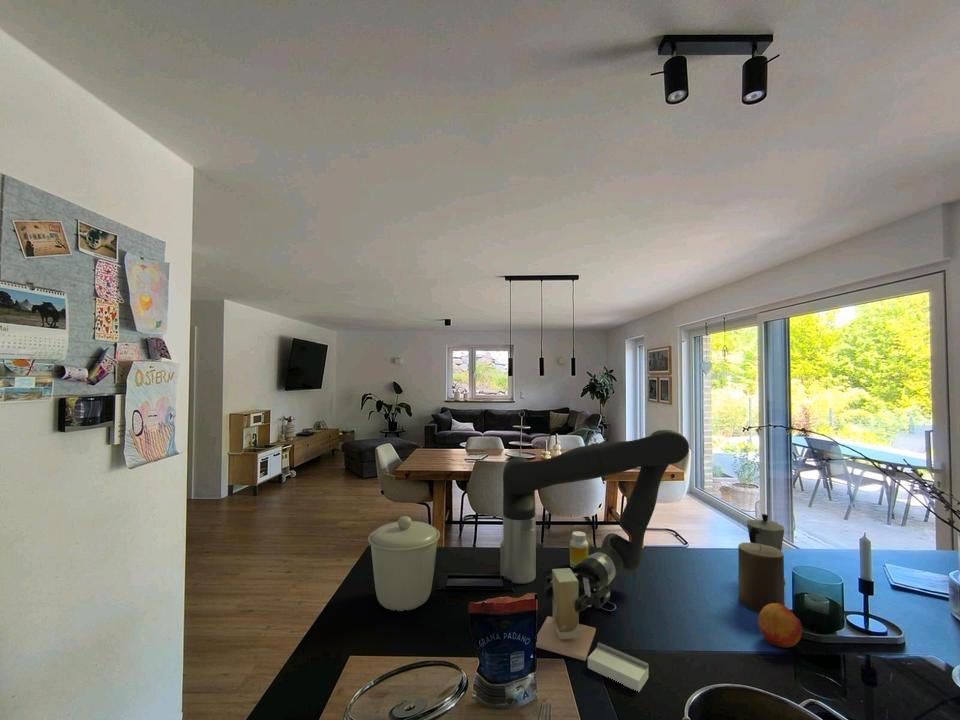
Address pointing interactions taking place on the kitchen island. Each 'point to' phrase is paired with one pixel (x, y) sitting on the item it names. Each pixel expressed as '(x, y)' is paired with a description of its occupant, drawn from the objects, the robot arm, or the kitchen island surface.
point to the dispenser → (618, 666)
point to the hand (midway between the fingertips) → (560, 601)
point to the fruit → (779, 625)
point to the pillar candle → (760, 575)
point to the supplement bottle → (578, 548)
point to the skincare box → (565, 603)
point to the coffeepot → (766, 532)
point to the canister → (403, 563)
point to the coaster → (565, 640)
